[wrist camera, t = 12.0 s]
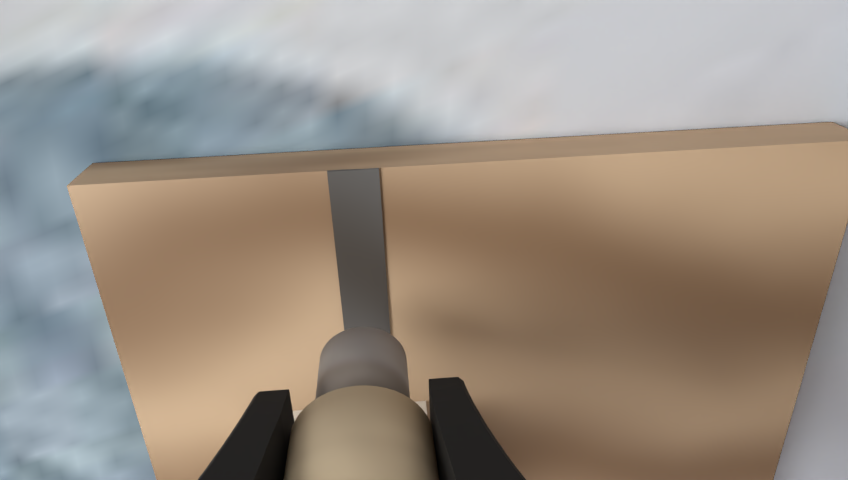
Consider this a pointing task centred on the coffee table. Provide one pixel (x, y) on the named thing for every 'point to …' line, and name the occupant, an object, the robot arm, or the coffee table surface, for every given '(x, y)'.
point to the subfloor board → (486, 287)
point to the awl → (362, 416)
